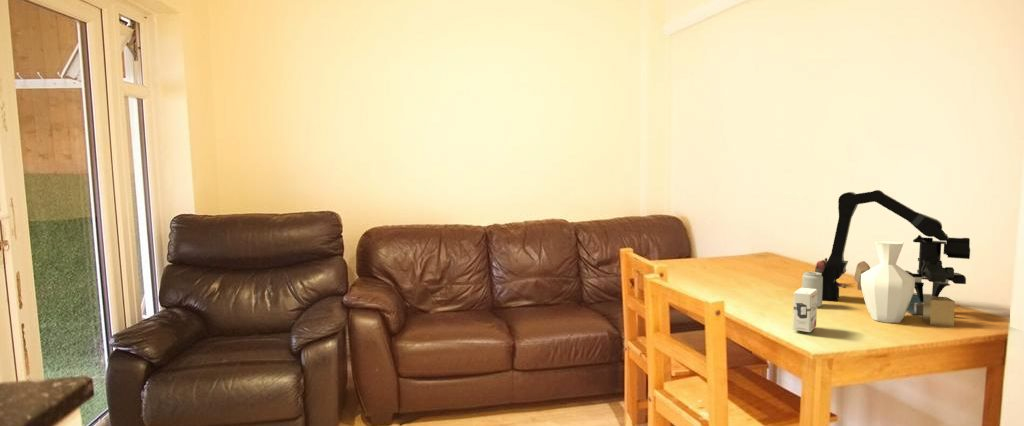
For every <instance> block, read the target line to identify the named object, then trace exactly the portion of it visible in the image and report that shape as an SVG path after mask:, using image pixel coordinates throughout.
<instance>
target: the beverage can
mask: <svg viewBox="0 0 1024 426" xmlns="http://www.w3.org/2000/svg"><path fill="white" fill-rule="evenodd" d="M801 288H809V289H817V309H819V308H820V307H822V306H823V300H822V289H823V277H822V274H821V273H818V272H815V271H804V272H803V274H802V277H801Z"/></svg>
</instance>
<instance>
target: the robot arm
mask: <svg viewBox="0 0 1024 426" xmlns="http://www.w3.org/2000/svg"><path fill="white" fill-rule="evenodd" d="M837 202H838V203H837V204H838V207H837V209H838V210H837V211H838V220H837V225H836V229H835V234H834V239H833V244H832V249H831V253H830V255H829V257H828V258H827V263H826V265H825V268H824V270H823V273H821V274H822V277H823V289H822V301H839V298H840V286H838V283H839V282H838V279H840V278H841V277H842V275H844V274H845V273H846V272H847V265H848V263H849V260H845V257H844V256H845V249H846V245H847V241H848V236H849V231H850V226H851V222H852V218H853V216H854V214H855V212H856V210H857V208H858V205H863V204H868V203H877V204H878V205H880V206H881V207H884V208H886V209H887V210H888V211H890V212H891V213H894V214H895V215H897V216H899V217H901V218H902V219H904V220H906V221H907V222H908V223H910V224H911V225H912V226H913V227H914V228H915V229H917V230H918V231H919V232H920V233H921V234H922V235H924V236H925V237H923V236H922V235H921V234H918V236H917V237H915V238H914V239H913V240H912V241H913V243H919V249H918V250H919V252H918V254H919V256H918V258H917V261H918V269H917V270H916V273H913V272H911V271H908V270H905V271H906V272H907V273H908V274H910V275H911V276H913V277H914V278H915V288H914V291H915V293H917V295H918V297H919V300H920V302H923V294H924V288H923V287H924V284H925V282H922V280H925V281H926V280H927V281H928V282H930V283H932V288H931V289H932V291H931V294H932V296H937V297H940V296H939V295H940V294H941V293H942V291H943V290H944V289H945V287H949V286H951V283H949V282H950V281H951V282H953V283H954V284H956V285H966V284H967V278H966V276H965V275H964V274H961V273H959V272H955V269H954V267H952V266H949V267H948V266H946V267H943V261H942V260H941V258H942V245H943V255H945V256H947V258H950V259H963V260H970V259H971V248H970V245H971V244H970V242H971V241H970V240H971V239H970V238H969V237H949V236H948V234H947V233H946V232H945V231H944V230H943V224H942V222H941V221H940V220H938V219H936V218H934V217H932V216H928V215H926V214H923V213H920V212H918V211H915V210H914V209H912V208H911V207H908V206H907V205H905V204H903V203H902V202H900V201H898V200H896V199H895V198H893V197H891V196H889V195H888V194H886V193H884V192H883V191H882V190H880V189H879V190H878V189H875V190H873V191H868V192H867V191H865V192H860V193H856V192H854V191H849V192H844V193H842V194H840V196H839V197H838V201H837ZM934 238H935V239H937V240H933V239H934ZM835 281H837V282H838V283H837V282H835Z"/></svg>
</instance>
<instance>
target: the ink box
mask: <svg viewBox="0 0 1024 426" xmlns="http://www.w3.org/2000/svg"><path fill="white" fill-rule="evenodd" d="M792 306H793V309H792V310H793V311H792V315H793V316H792V330H794V331H799V332H804V333H805V332H806V333H811V332H812V331H813V330H815V328H816V327H817V310H818V308H817V289H809V288H802V287H800V288H798V289H797V290H795V291H794V292H793V305H792Z"/></svg>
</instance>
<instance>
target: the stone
mask: <svg viewBox="0 0 1024 426" xmlns="http://www.w3.org/2000/svg"><path fill="white" fill-rule="evenodd" d="M869 269H871V266H870V265H869V264H868V262H866V261H864V260H863V261H860V262H858V263H857V264H856V269H855V274H854V276H853V277H854V281H855V282H856V283H857V287H856V288H857V290H858V291H862V288H861V274H862V273H864V272H866V271H868V270H869Z"/></svg>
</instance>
